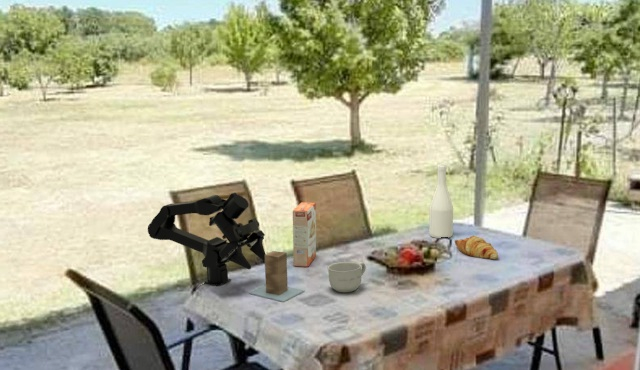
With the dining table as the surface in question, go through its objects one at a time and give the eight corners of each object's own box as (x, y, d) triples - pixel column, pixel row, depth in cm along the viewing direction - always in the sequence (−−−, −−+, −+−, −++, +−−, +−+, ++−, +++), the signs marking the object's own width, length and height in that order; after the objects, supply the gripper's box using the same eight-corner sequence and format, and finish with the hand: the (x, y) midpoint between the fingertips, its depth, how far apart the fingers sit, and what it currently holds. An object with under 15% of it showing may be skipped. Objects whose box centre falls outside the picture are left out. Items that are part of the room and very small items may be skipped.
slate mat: (248, 293, 209) (248, 292, 209) (270, 283, 218) (270, 282, 217) (283, 302, 201) (283, 301, 201) (304, 291, 210) (304, 290, 210)
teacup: (338, 297, 204) (338, 273, 202) (322, 287, 213) (321, 263, 212) (376, 289, 210) (376, 265, 209) (359, 279, 220) (358, 257, 218)
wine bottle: (429, 238, 267) (430, 166, 262) (429, 232, 277) (430, 162, 271) (452, 239, 266) (454, 166, 260) (452, 233, 275) (453, 162, 269)
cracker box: (309, 267, 234) (308, 210, 230) (293, 266, 235) (291, 210, 231) (317, 256, 247) (316, 201, 243) (301, 255, 248) (300, 201, 244)
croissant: (502, 268, 240) (510, 248, 240) (486, 260, 234) (494, 239, 234) (459, 253, 257) (467, 234, 257) (443, 246, 251) (451, 226, 251)
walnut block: (266, 292, 208) (264, 255, 206) (274, 287, 212) (273, 250, 210) (279, 295, 206) (277, 257, 203) (287, 290, 210) (286, 252, 208)
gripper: (225, 218, 202) (256, 257, 199) (259, 206, 218) (288, 242, 215) (206, 240, 207) (236, 278, 204) (240, 226, 223) (268, 262, 220)
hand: (258, 264), depth 211 cm, fingers open, 9 cm apart
